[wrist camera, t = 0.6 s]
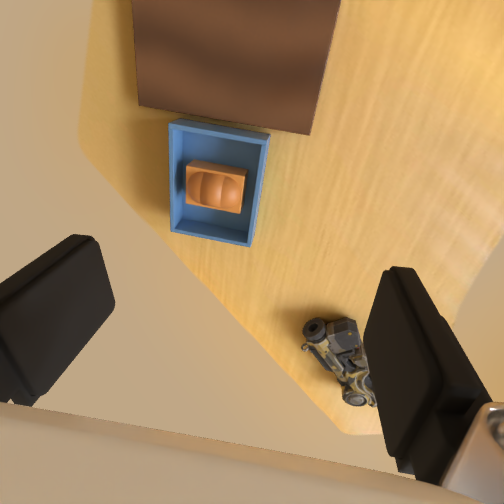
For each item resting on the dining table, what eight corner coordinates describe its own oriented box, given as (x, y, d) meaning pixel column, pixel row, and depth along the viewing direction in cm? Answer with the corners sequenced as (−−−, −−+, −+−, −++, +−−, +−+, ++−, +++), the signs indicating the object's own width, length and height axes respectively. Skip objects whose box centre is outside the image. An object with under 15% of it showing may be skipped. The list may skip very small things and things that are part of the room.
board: (135, -30, 32) (128, -34, 30) (340, 1, 30) (341, -2, 29) (144, 104, 39) (138, 105, 37) (309, 133, 37) (309, 135, 36)
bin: (179, 118, 39) (168, 122, 36) (270, 134, 38) (267, 140, 35) (179, 219, 47) (170, 231, 44) (254, 234, 46) (250, 247, 43)
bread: (193, 159, 41) (181, 169, 37) (248, 169, 41) (241, 181, 36) (192, 195, 44) (181, 208, 40) (243, 204, 44) (237, 219, 39)
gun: (373, 318, 46) (289, 345, 52) (430, 408, 55) (353, 421, 61) (368, 298, 50) (291, 325, 56) (422, 385, 59) (351, 400, 65)
